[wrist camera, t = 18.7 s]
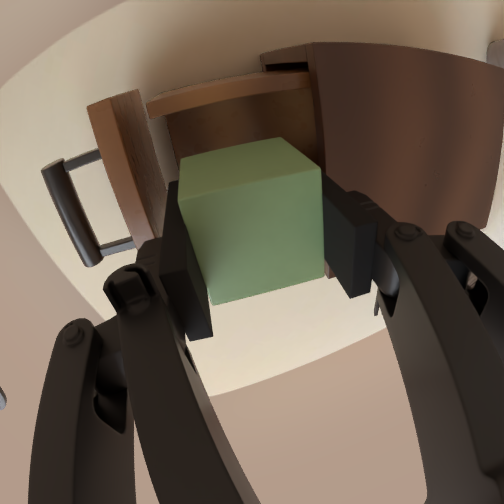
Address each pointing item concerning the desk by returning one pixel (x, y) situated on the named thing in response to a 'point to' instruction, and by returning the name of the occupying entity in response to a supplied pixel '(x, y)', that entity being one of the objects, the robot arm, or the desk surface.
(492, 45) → the mug
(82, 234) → the drawer
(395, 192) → the cabinet
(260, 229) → the block
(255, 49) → the desk surface
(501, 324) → the robot arm
